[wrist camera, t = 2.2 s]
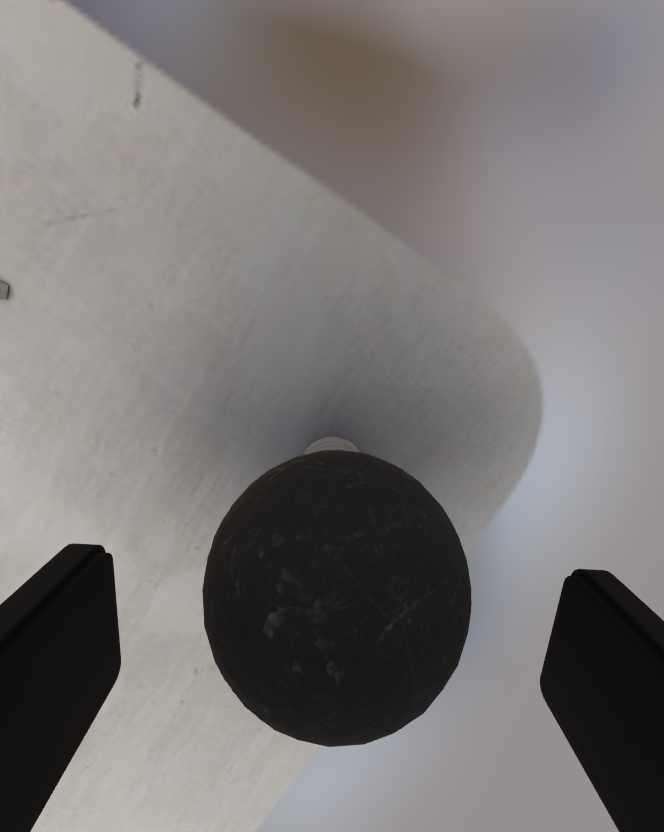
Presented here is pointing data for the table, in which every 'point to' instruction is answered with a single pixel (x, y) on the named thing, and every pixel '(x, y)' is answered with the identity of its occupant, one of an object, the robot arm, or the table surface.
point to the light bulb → (336, 597)
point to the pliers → (3, 290)
